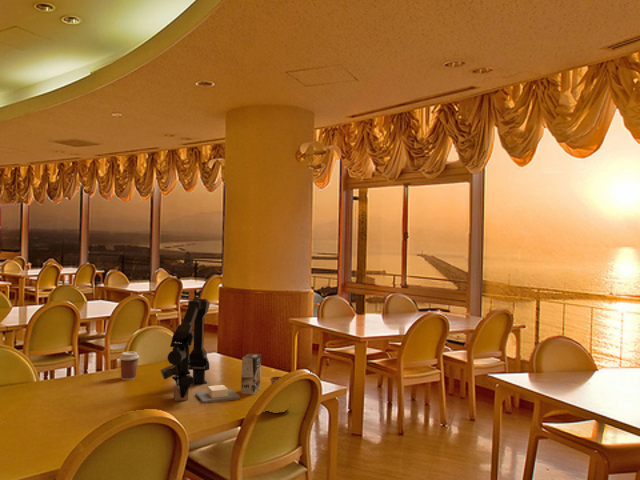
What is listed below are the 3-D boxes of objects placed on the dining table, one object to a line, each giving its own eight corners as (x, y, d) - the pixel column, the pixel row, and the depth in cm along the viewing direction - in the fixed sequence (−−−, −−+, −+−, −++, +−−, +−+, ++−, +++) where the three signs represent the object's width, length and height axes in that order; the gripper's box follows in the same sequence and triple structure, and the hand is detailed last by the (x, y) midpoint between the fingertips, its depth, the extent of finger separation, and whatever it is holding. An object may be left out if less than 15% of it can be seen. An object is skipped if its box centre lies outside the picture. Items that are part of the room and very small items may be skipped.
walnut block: (173, 397, 219) (174, 385, 219) (185, 396, 221) (185, 384, 221) (176, 401, 214) (176, 389, 214) (188, 399, 217) (188, 387, 217)
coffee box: (254, 395, 227) (255, 358, 227) (240, 393, 228) (241, 357, 228) (260, 389, 236) (261, 354, 236) (247, 387, 237) (248, 352, 237)
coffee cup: (142, 377, 247) (143, 352, 247) (126, 381, 240) (127, 356, 240) (130, 374, 252) (131, 350, 252) (114, 378, 245) (115, 353, 245)
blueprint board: (195, 395, 224) (196, 385, 224) (231, 391, 231) (231, 382, 231) (202, 403, 213) (203, 393, 213) (239, 399, 220) (240, 389, 220)
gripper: (158, 355, 222) (157, 391, 222) (167, 365, 206) (165, 404, 206) (184, 353, 228) (183, 389, 228) (195, 363, 211) (193, 401, 211)
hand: (180, 396), depth 218 cm, fingers closed on walnut block, 5 cm apart
